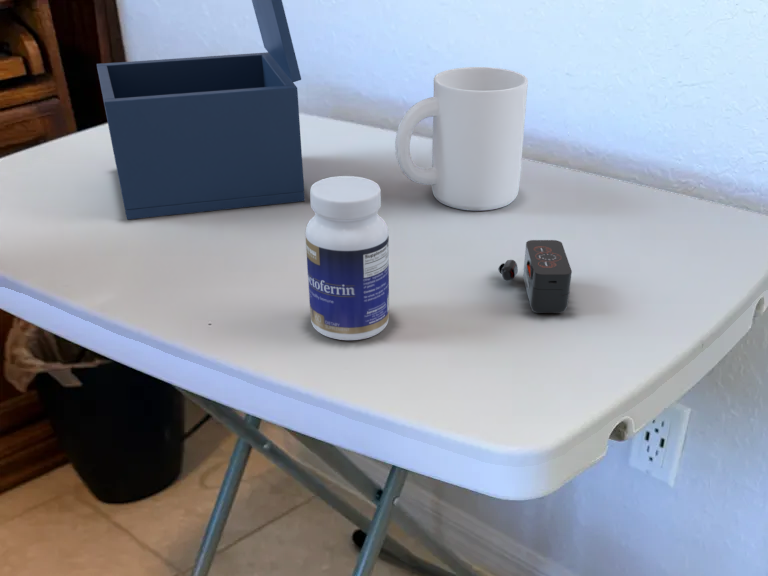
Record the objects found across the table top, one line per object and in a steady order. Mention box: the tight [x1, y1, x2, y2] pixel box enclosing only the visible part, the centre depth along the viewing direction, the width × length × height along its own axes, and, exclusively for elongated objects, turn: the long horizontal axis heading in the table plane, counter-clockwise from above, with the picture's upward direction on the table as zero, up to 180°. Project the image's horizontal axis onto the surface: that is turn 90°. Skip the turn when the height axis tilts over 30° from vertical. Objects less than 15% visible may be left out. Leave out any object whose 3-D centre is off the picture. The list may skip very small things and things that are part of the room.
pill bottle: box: [304, 175, 390, 341], centre depth 64 cm, size 6×6×10 cm
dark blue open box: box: [96, 51, 306, 221], centre depth 87 cm, size 16×13×10 cm
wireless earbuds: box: [497, 239, 573, 314], centre depth 71 cm, size 5×7×3 cm, turn 1°
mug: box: [394, 66, 529, 212], centre depth 84 cm, size 12×8×10 cm
